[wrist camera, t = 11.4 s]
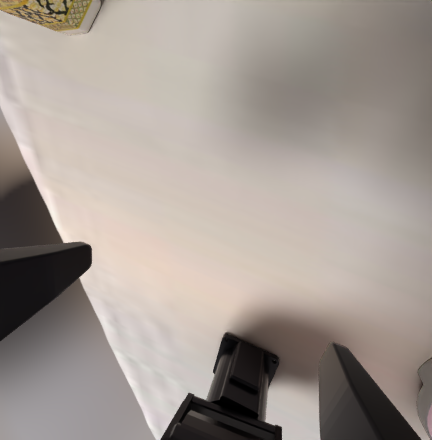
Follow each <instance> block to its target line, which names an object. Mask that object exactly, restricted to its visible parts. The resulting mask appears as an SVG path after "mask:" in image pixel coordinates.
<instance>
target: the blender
mask: <svg viewBox="0 0 432 440" xmlns="http://www.w3.org/2000/svg"><path fill="white" fill-rule="evenodd" d="M418 374H419V376H420V378H421V380H422V383H423V386H422V388H421V390H420V392H419V394H418V398H417V412H418V416H419V418H420V421H421V423H422V425H423V427H424V429H425V431H426V432H427V434H428V436H429V438H430V440H432V359H430V360H428V361H427V362H426V363H424V364H423V365H422V366H421V367H420V369H419V370H418Z"/></svg>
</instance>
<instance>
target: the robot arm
mask: <svg viewBox="0 0 432 440" xmlns="http://www.w3.org/2000/svg"><path fill="white" fill-rule="evenodd" d="M91 264H92V248H91V246H90V245H89V244H86V243H84V242H72V243H61V244H50V245H40V246H30V247H19V248H8V249H0V341H1V340H3V339H4V338H5V337H7V336H8V335H9V334H10V333H12V332H13V331H14V330H16V329H17V328H18V327H19V326H21V325H22V324H23V323H25V322H26V321H27V320H28V319H30V318H31V317H32V316H34V315H35V314H36V313H38V312H39V311H40V310H41V309H43V308H44V307H45V306H46V305H48V304H49V303H51V302H52V301H53V300H54V299H55V298H57V297H58V296H59V295H60V294H61V293H62V292H64V291H65V290H66V289H67V288H68V287H69V286H70V285H71V284H72V283H74V282H75V281H76V280H77V279H78V278H79V277H80V276H81V275H82V274H84V273H85V272H86V271H87V270H88V269H89V268H90V266H91ZM278 365H279V358H278V357H277V356H276V355H273V354H271V353H269V352H267V351H264V350H262V349H260V348H258V347H255V346H253V345H251V344H249V343H246V342H244V341H242V340H240V339H237V338H235V337H233V336H230V335H228V334H224V335H223V338H222V341H221V345H220V348H219V352H218V355H217V359H216V362H215V366H214V369H213V373H214V374H215V375H214V378H213V381H212V384H211V387H210V390H209V393H208V396H207V399H206V400H204V399H201V398H199V397H196V396H194V394H191V393H188V395H187V397H186V398H185V400H184V401H183V402H182V404H181V406H180V407H179V409H178V411H177V412H176V414H175V416H174V418H173V419H172V421H171V423H170V424H169V426H168V428H167V430H166V431H165V433H164V435H163V436H162V438H161V440H282V427H281V426H278V425H275V426H274V425H272V424H269V423H266V422H265V419H266V406H267V393H268V388H269V385H270V383H271V381H272V379H273V376H274V374H275V372H276V369H277V367H278ZM319 419H320V437H321V440H421V438H420V437H419V436H418V435H417V433H416V432H415V431H414V430H413V429H412V427H411V426H410V425H409V424H408V422H407V421H406V420H405V419H404V417H403V416H402V415H401V414H400V412H399V411H398V410H397V409H396V407H395V406H394V405H393V404H392V402H391V401H390V400H389V399H388V398H387V396H386V395H385V394H384V393H383V391H382V390H381V389H380V388H379V386H378V385H377V384H376V383H375V381H374V380H373V379H372V378H371V376H370V375H369V374H368V373H367V371H366V370H365V369H364V368H363V367H362V365H361V364H360V363H359V362H358V360H357V359H356V358H355V357H354V355H353V354H352V353H351V352H350V350H349V349H348V348H347V347H345V346H342V345H340V344H337V343H335V342H331V343H329V345H328V347H327V348H326V350H325V352H324V354H323V356H322V358H321V360H320V363H319Z"/></svg>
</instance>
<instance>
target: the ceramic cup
mask: <svg viewBox="0 0 432 440" xmlns="http://www.w3.org/2000/svg"><path fill="white" fill-rule="evenodd" d="M100 7H101V0H0V10H2V11H4V12H6V13H9V14H11V15H14V16H17V17H19V18H22V19H25V20H28V21H30V22H33V23H36V24H39V25H42V26H44V27H47V28H49V29H52V30H54V31H58V32H60V33H63V34H67V35H75V34H85V33H88V31H89V29H90V27H91V25H92V23H93V21H94V19H95V17H96V15H97V13H98V11H99V9H100Z"/></svg>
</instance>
